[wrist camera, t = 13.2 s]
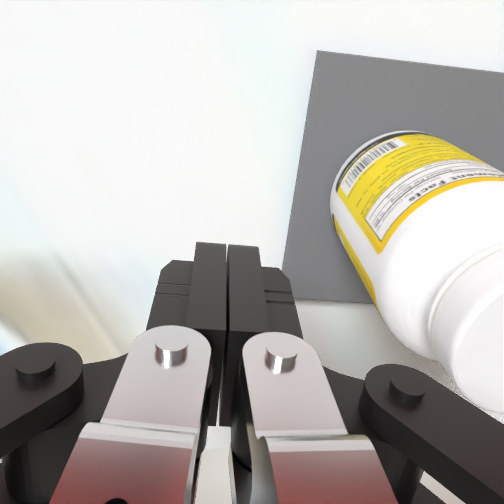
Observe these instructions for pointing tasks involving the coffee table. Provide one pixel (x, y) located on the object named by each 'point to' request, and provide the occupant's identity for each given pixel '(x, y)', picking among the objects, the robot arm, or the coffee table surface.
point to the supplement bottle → (430, 252)
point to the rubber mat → (365, 129)
